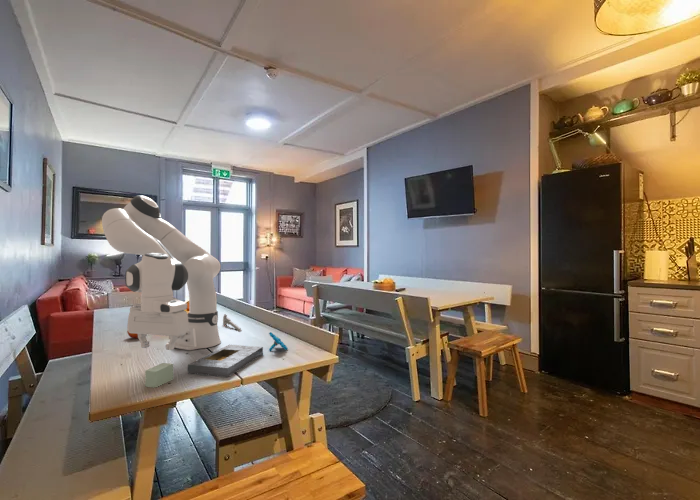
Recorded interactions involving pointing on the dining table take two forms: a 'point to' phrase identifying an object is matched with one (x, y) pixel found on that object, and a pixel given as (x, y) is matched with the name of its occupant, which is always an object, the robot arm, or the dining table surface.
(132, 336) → the fruit
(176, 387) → the dining table surface
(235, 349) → the pocket plate
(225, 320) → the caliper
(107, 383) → the dining table surface
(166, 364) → the block
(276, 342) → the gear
